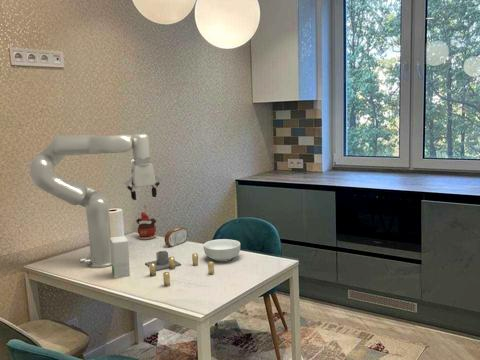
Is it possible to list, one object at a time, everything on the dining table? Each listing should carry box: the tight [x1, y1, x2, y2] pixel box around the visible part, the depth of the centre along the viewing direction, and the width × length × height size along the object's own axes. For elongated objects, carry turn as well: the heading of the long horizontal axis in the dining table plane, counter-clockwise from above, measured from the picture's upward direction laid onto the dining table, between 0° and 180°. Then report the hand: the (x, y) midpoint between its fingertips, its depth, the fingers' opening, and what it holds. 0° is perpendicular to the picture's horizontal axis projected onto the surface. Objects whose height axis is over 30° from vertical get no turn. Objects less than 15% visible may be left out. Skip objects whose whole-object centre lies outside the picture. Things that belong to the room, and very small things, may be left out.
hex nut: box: [155, 250, 169, 265], centre depth 207 cm, size 4×5×5 cm
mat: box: [144, 257, 182, 272], centre depth 208 cm, size 12×12×1 cm
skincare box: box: [110, 235, 131, 279], centre depth 196 cm, size 8×7×16 cm
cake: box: [135, 204, 157, 240], centre depth 252 cm, size 11×9×18 cm
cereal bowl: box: [203, 238, 241, 262], centre depth 212 cm, size 17×17×7 cm
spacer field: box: [148, 252, 215, 287], centre depth 195 cm, size 22×19×5 cm
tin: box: [164, 226, 189, 247], centre depth 238 cm, size 15×3×8 cm, turn 144°
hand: (144, 198), depth 214 cm, fingers open, 9 cm apart
